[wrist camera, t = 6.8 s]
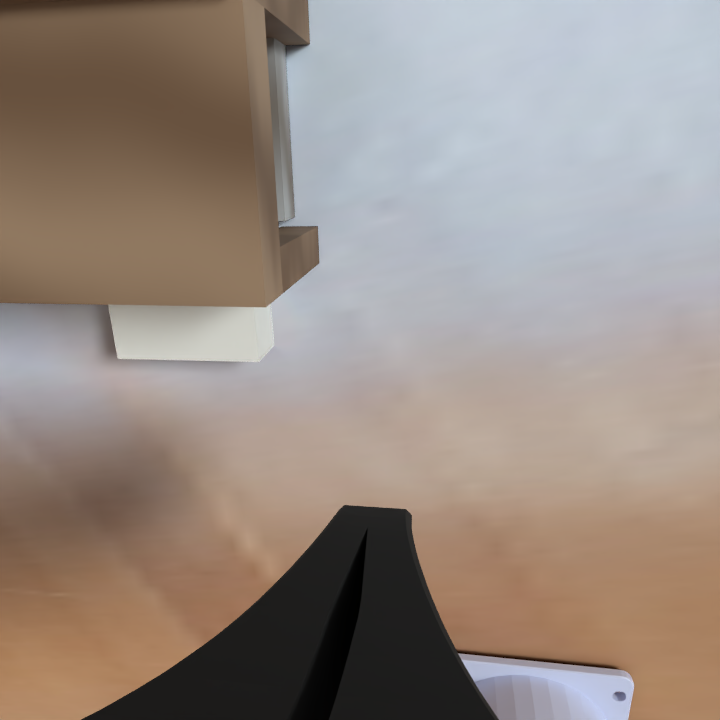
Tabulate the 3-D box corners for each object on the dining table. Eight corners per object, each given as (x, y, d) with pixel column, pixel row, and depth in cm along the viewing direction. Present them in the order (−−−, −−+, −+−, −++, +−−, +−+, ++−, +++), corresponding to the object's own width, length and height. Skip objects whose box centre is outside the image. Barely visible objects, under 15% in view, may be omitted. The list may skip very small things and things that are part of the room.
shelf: (319, 262, 19) (259, 312, 13) (47, 261, 21) (-121, 305, 14) (306, -36, 16) (221, -149, 10) (-9, -13, 18) (-247, -101, 12)
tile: (277, 341, 21) (258, 361, 19) (148, 339, 22) (117, 358, 19) (255, 66, 18) (230, 55, 16) (106, 74, 19) (64, 64, 16)
